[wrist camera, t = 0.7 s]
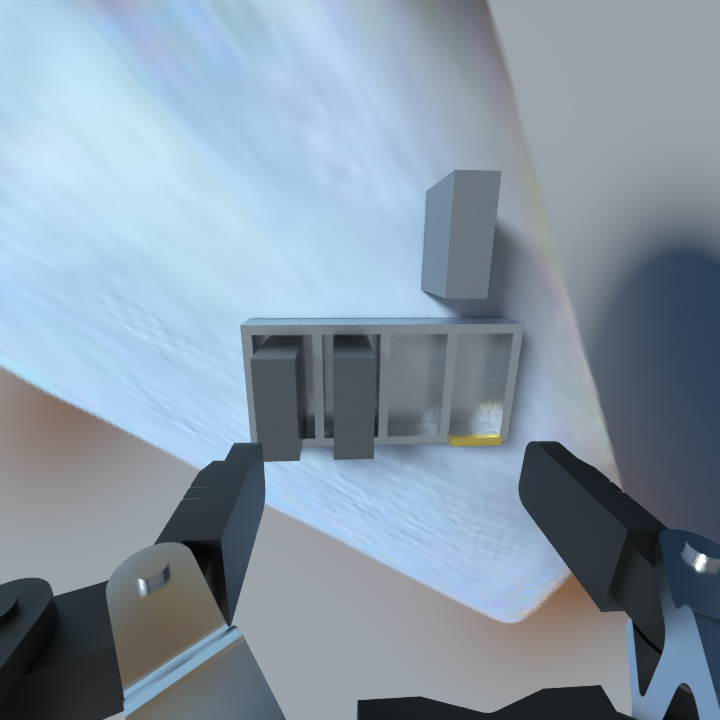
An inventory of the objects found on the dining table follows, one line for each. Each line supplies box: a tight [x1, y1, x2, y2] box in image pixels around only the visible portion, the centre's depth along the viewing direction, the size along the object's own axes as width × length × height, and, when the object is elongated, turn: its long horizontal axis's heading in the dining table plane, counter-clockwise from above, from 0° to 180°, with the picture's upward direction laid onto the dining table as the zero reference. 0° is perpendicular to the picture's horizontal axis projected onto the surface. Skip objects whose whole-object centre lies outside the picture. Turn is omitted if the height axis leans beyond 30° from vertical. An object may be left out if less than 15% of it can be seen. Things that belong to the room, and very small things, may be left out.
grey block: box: [421, 170, 501, 299], centre depth 26 cm, size 8×3×7 cm, turn 0°
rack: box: [240, 318, 524, 462], centre depth 29 cm, size 23×11×8 cm, turn 90°
